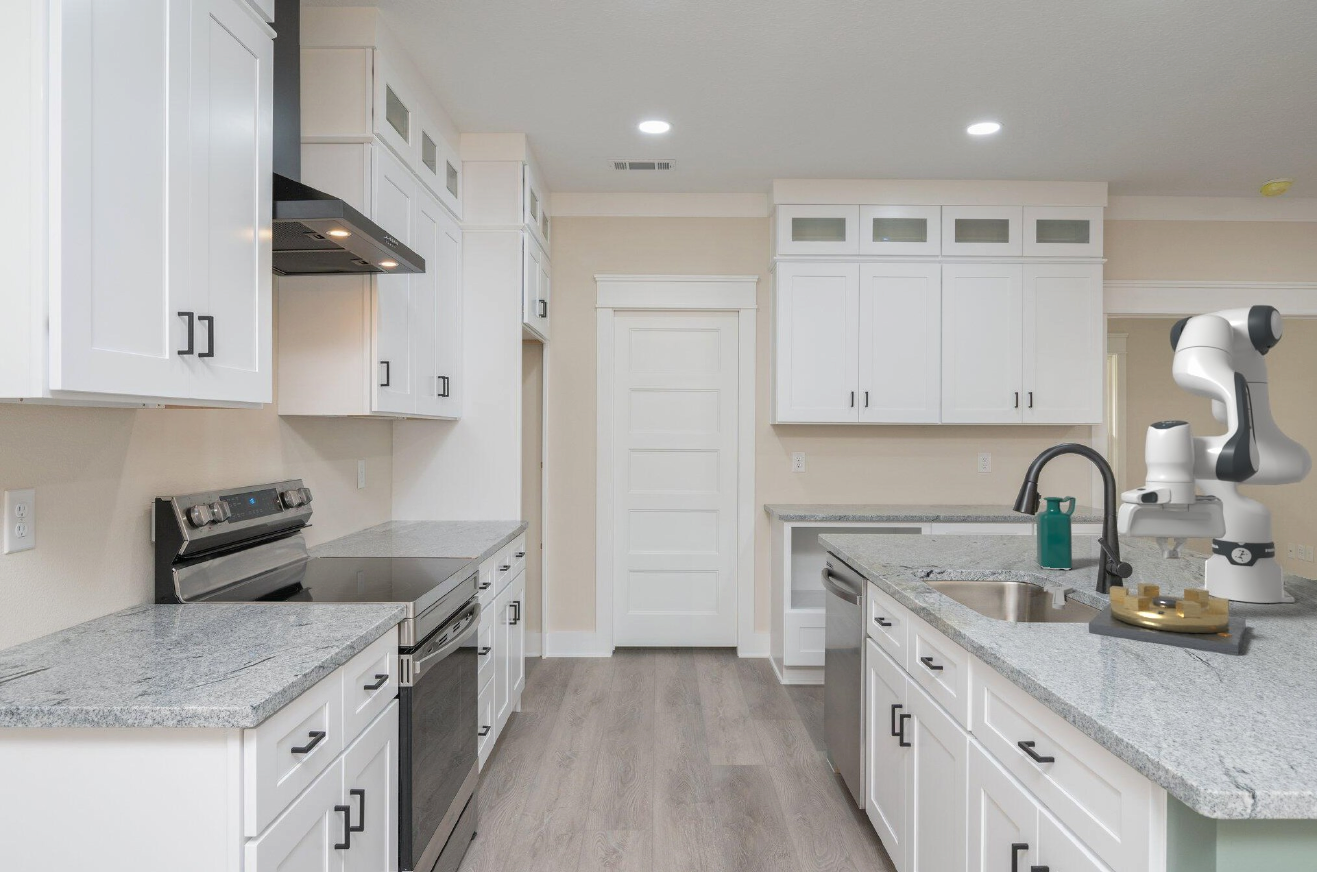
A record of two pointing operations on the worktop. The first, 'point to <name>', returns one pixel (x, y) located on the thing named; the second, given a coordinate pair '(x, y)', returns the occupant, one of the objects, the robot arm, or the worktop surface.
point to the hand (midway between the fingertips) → (1171, 558)
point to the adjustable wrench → (1058, 594)
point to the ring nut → (1170, 609)
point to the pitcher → (1055, 534)
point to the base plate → (1172, 634)
